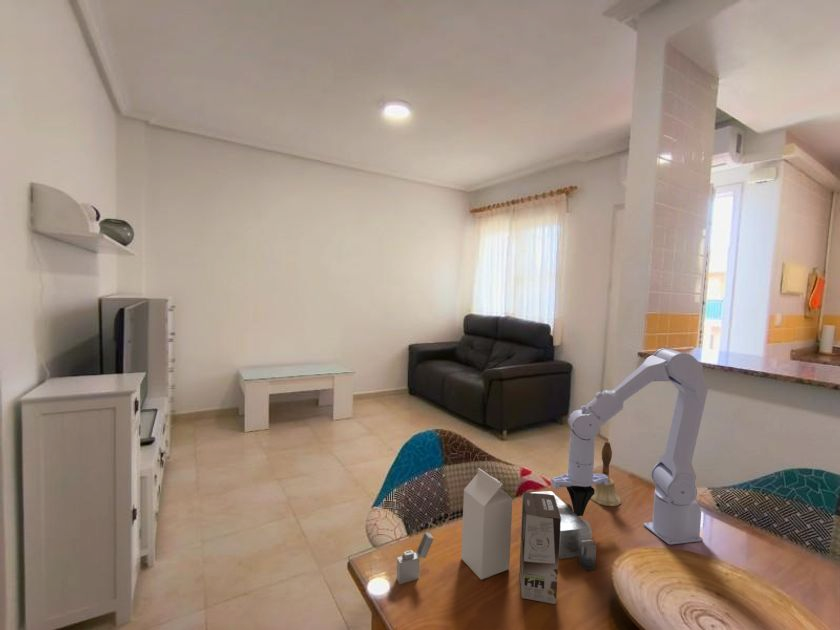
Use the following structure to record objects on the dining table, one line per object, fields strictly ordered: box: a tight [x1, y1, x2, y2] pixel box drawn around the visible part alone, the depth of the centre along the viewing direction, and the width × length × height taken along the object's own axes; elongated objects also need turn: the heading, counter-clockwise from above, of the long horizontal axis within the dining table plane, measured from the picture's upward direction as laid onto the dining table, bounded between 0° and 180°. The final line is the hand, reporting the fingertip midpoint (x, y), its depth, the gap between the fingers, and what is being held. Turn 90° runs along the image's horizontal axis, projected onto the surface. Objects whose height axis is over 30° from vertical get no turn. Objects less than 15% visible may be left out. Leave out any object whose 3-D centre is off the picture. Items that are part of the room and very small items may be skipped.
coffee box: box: [519, 491, 561, 605], centre depth 77 cm, size 9×6×16 cm
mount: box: [531, 490, 591, 560], centre depth 93 cm, size 7×16×6 cm, turn 12°
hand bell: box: [590, 441, 622, 507], centre depth 110 cm, size 8×8×16 cm
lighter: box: [396, 532, 434, 585], centre depth 78 cm, size 7×2×8 cm, turn 115°
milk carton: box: [460, 467, 513, 580], centre depth 82 cm, size 7×7×19 cm
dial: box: [578, 538, 597, 572], centre depth 82 cm, size 3×3×6 cm
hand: (578, 513), depth 98 cm, fingers closed
